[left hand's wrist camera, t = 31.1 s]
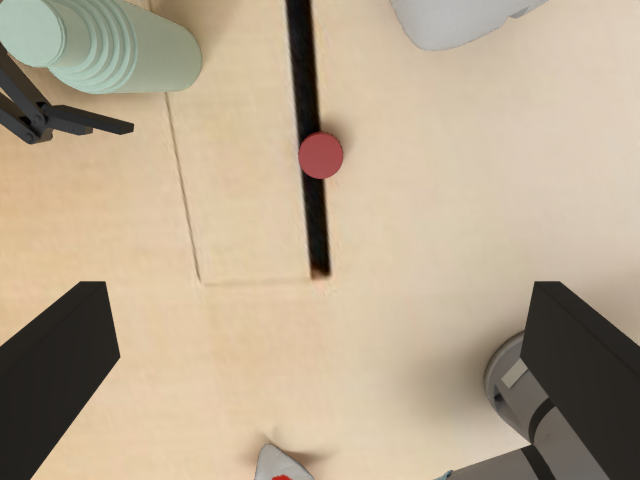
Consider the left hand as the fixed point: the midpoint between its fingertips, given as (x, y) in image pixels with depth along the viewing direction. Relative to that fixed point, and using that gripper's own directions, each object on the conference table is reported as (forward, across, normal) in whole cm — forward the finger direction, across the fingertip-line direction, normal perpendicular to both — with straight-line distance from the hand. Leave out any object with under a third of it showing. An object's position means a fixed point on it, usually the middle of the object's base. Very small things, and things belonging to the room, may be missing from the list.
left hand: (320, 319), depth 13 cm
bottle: (+34, +15, -10) cm, 38 cm away
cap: (+32, 0, 0) cm, 32 cm away
